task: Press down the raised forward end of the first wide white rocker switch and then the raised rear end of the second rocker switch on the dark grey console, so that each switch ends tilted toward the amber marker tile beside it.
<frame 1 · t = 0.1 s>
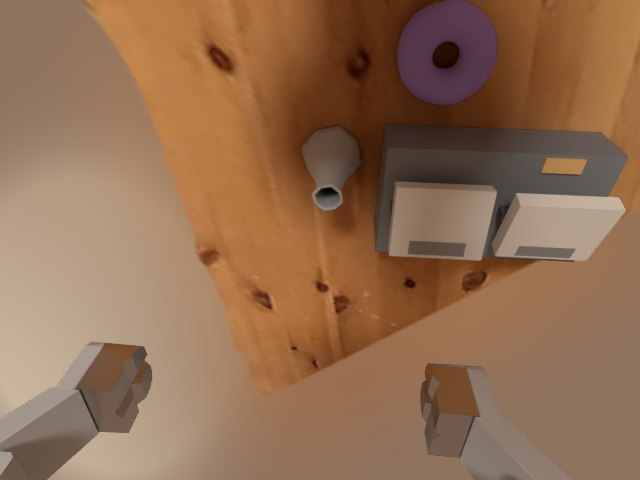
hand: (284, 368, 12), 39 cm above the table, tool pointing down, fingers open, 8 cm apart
console: (476, 182, 51), on the table
flask: (331, 153, 51), on the table
switch b: (553, 228, 44), point 9 cm above the table, hinge at 11.0°
switch a: (439, 221, 45), point 9 cm above the table, hinge at -11.0°
donut: (442, 49, 43), on the table
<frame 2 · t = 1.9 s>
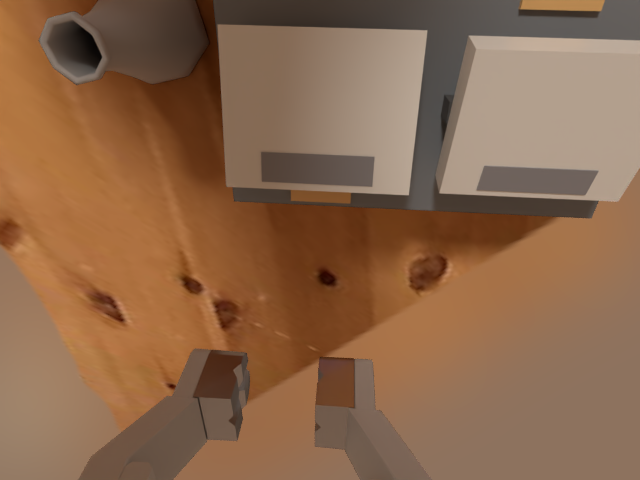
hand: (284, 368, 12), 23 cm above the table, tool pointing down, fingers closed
console: (412, 82, 29), on the table
flask: (156, 26, 29), on the table
switch b: (550, 126, 22), point 9 cm above the table, hinge at 11.0°
switch a: (319, 113, 22), point 9 cm above the table, hinge at -11.0°
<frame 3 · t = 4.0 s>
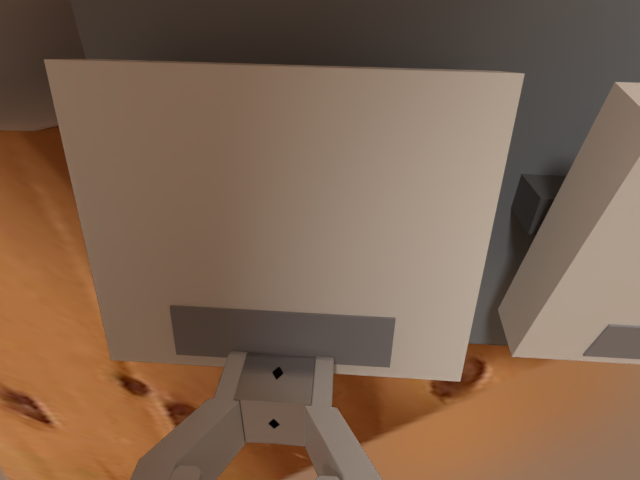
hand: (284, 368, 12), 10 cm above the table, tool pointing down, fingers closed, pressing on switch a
console: (448, 128, 18), on the table
flask: (30, 41, 18), on the table
switch a: (285, 229, 11), point 9 cm above the table, hinge at -9.8°, touching gripper
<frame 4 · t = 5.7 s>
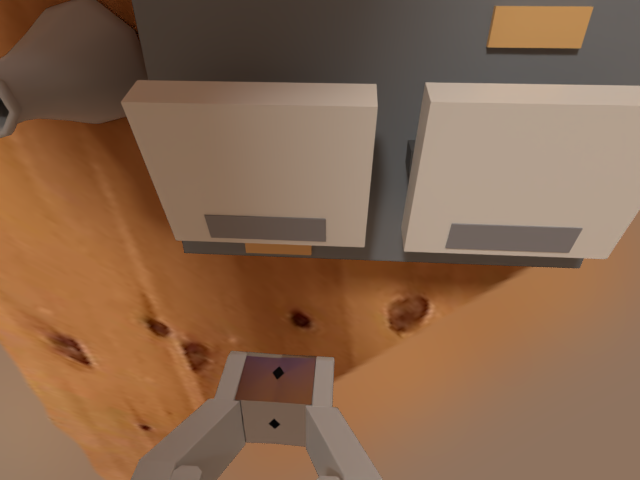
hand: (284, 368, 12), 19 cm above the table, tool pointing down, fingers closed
console: (380, 117, 27), on the table
flask: (97, 63, 26), on the table
switch b: (524, 179, 19), point 9 cm above the table, hinge at 11.0°
switch a: (262, 173, 20), point 9 cm above the table, hinge at 15.0°
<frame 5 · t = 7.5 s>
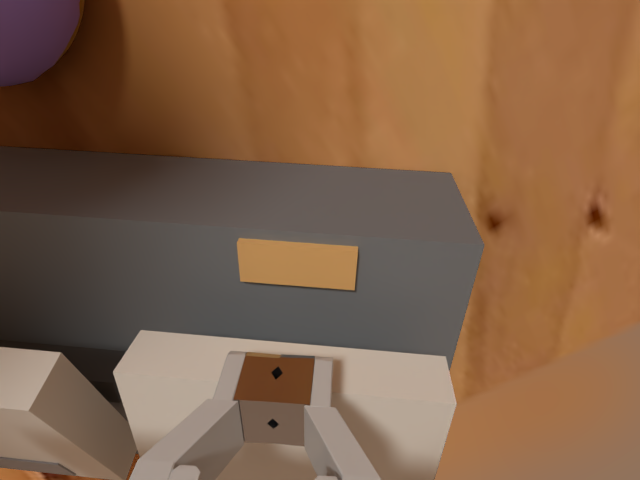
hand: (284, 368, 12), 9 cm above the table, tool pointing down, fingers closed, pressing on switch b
console: (204, 279, 23), on the table
switch b: (286, 444, 15), point 9 cm above the table, hinge at -1.4°, touching gripper
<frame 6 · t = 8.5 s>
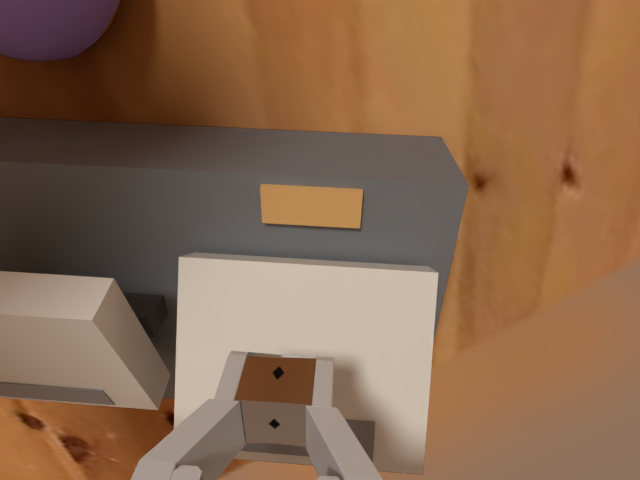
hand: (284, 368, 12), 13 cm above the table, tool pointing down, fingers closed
console: (220, 241, 25), on the table
switch b: (303, 358, 17), point 9 cm above the table, hinge at -27.0°
switch a: (25, 345, 18), point 9 cm above the table, hinge at 15.9°
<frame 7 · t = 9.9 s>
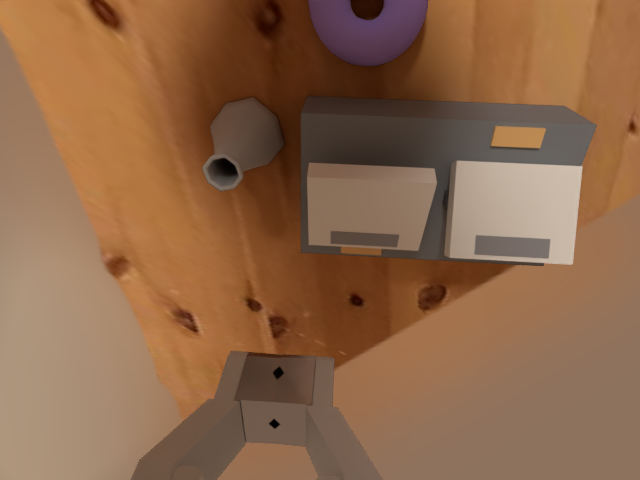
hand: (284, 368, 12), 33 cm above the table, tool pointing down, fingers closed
console: (422, 170, 43), on the table
flask: (248, 133, 42), on the table
switch b: (510, 212, 35), point 9 cm above the table, hinge at -27.5°
switch a: (366, 209, 36), point 9 cm above the table, hinge at 15.9°
donut: (366, 1, 36), on the table
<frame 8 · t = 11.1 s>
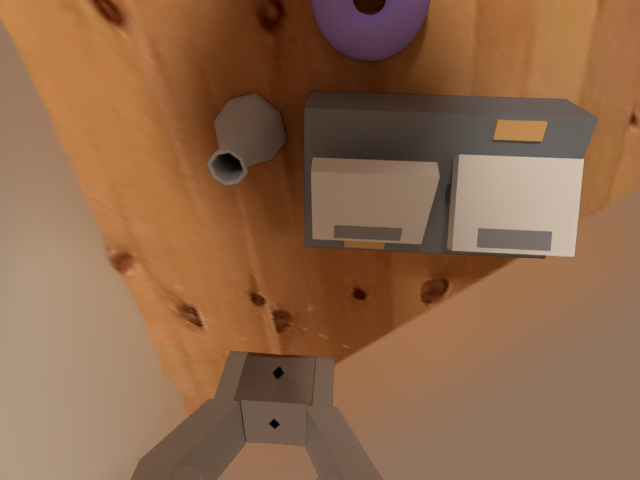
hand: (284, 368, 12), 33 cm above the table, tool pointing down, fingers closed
console: (425, 164, 43), on the table
flask: (251, 129, 43), on the table
switch b: (512, 205, 35), point 9 cm above the table, hinge at -27.6°
switch a: (370, 203, 36), point 9 cm above the table, hinge at 15.9°
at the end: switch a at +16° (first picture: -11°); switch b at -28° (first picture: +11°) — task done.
